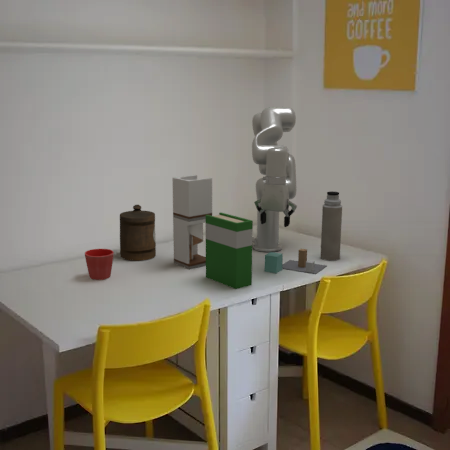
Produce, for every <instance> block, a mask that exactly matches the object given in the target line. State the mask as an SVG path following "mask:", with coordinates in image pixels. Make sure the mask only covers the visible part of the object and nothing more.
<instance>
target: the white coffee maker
mask: <svg viewBox="0 0 450 450" xmlns="http://www.w3.org/2000/svg"><path fill="white" fill-rule="evenodd" d="M206 215H210V216H213V177H209V178H199V179H198V175H197V174H193V175H185V176H184V175H183V176H177V177H172V225H173V226H172V228H173V229H172V232H173V233H172V237H173V264H175V265H177V266H179V267H182V268H184V269H187V270H193V269H199V268H202V267H206V256H203V255H201V254H198V252H199V249H198V245H199V244H200V243H203V242H204V223H205V224H206Z"/></svg>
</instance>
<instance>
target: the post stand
mask: <svg viewBox="0 0 450 450" xmlns="http://www.w3.org/2000/svg"><path fill="white" fill-rule="evenodd" d="M297 257H298V258H297V259H298V260H295V259H293V260H292V259H289V260H288V261H285V262H284V263H282V270H289V271H294V272H301V273H307V274H311V275H312V274H313V275H316V274H319V272H321V271H323V270H324V269H325V268H326V267H327V265H325V264H318V263H315V261H313V260H308V249H306V248H300V249H298V256H297Z"/></svg>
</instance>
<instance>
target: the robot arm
mask: <svg viewBox="0 0 450 450" xmlns="http://www.w3.org/2000/svg"><path fill="white" fill-rule="evenodd" d="M296 120H297V117H296V112H295V111H294V109H293V108H291V107H283V106H282V107H278V106H276V107H274V106H272V107H266V108H264V109H263V110H262V111H261V112H258V113H256V114H254V115H253V117H252V122H251V123H252V124H251V125H252V131H253V136H254V138H253V139H252V142H251V154H252V155H251V157H252V161H253V162H254V163H255V164H256V165H258V171H259V173H260V174H261V175H263V177H261V178H258V179H257V180H256V182H255V194H256V200H255V201H254V205H255V207H256V215H257V217H256V222H257V223H256V237H255V236H254V237H253V236H252V243H253V244H252V249H253V250H254V251H258V252H263V253H269V252H275V253H277V252H279V251H281V250H282V249H283V246H282V245H281V244H280V243H279V238H280V237H279V232H280V213H283V214H284V217H283V227H284V228H287V227H289V226H290V224H291V216H292V215H293V214H294V213H296V212H295V211H296V210H297V208H298V205H297V204H295V203H293V202H292V201H290V200H292V199H294V198H296V196H297V172H296V171H297V168H296V166H297V165H296V160H295V157H294V156H293V155H292V154H290V150H289V149H288V147H287V146H285V145H284V144H283V145H280V144H278V142H279V141H280V140H281V139H282V137H283V136H284V135H283V134H284V133H288V132H291V131H292V130H293V129H294V127H295V125H296ZM290 207H291V209H289V208H290Z"/></svg>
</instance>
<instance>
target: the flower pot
mask: <svg viewBox="0 0 450 450" xmlns="http://www.w3.org/2000/svg"><path fill="white" fill-rule="evenodd" d="M114 253H115V252H114V251H113V250H112V249H109V248H95V249H89V250H86V251H85V252H84V257H85V263H86V266H87V268H86V269H87V272H88V276H89V279H90V280H96V281H103V280H108V279H110V278H111V274H112V268H113V261H114Z"/></svg>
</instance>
